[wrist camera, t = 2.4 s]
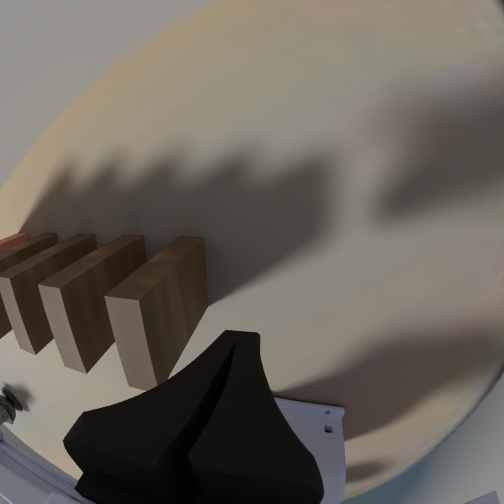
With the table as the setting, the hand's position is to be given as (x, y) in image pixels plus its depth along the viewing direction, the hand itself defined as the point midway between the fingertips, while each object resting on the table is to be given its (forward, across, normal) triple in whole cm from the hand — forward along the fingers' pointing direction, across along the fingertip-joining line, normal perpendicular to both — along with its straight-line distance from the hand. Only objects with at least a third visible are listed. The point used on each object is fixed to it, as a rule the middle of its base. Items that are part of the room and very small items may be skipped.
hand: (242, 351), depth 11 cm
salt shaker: (+8, +42, +27) cm, 50 cm away
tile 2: (+8, +9, 0) cm, 12 cm away
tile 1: (+8, +4, 0) cm, 9 cm away
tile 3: (+8, +13, 0) cm, 15 cm away
